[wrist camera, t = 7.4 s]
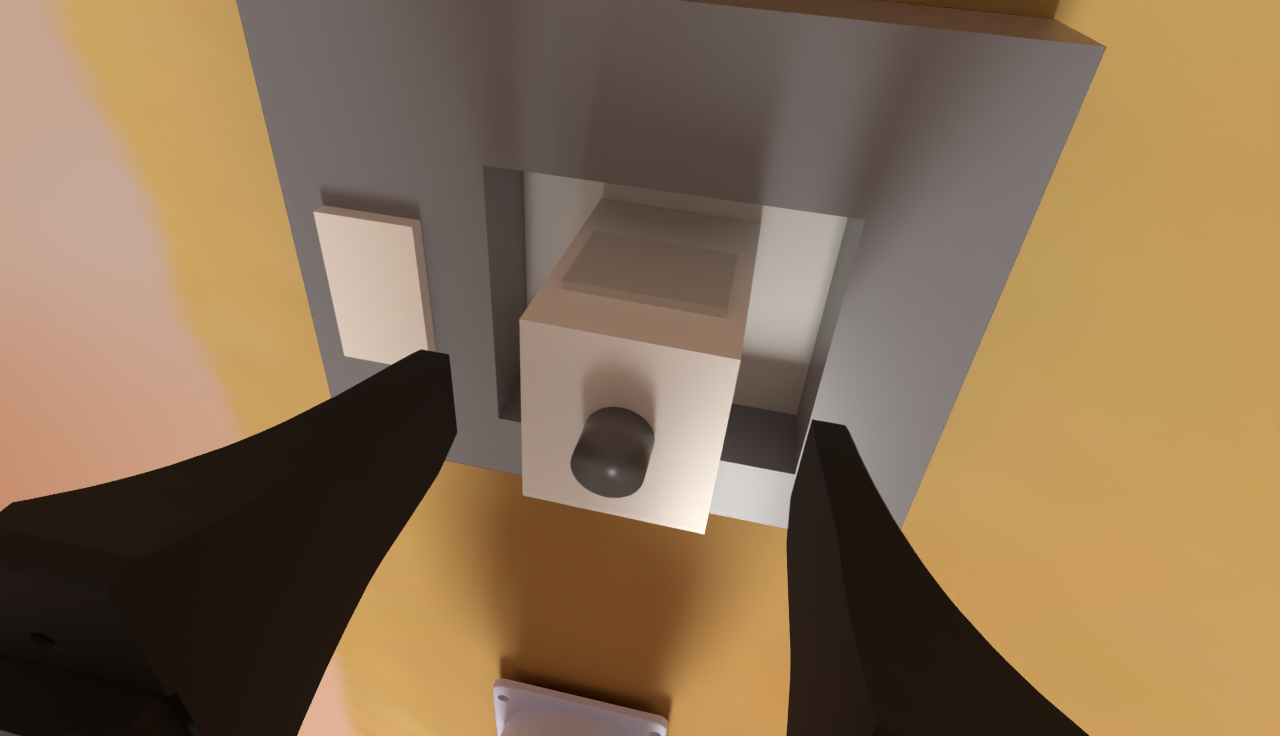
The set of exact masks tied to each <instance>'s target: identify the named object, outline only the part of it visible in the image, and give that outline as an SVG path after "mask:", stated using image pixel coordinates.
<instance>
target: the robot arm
mask: <svg viewBox="0 0 1280 736" xmlns="http://www.w3.org/2000/svg"><path fill="white" fill-rule="evenodd" d="M457 433H458V432H457V423H456V413H455V404H454V394H453V385H452V375H451V366H450V356H449V354H445V353H439V352H434V351H428V350H422V349H420V350H418V351H416V352H414V353H412V354H410V355H408V356H406V357H405V358H403V359H401V360H399V361H397V362H396V363H394V364H392V365H390V366H388V367H387V368H385V369H383V370H381V371H380V372H378V373H376V374H374V375H373V376H371V377H369V378H367V379H365V380H364V381H362V382H360V383H358V384H356V385H355V386H353V387H351V388H349V389H347V390H346V391H344V392H342V393H340V394H338V395H337V396H335V397H333V398H331V399H329V400H327V401H325V402H323V403H321V404H319V405H317V406H315V407H313V408H311V409H309V410H307V411H305V412H303V413H301V414H299V415H297V416H295V417H293V418H291V419H289V420H287V421H285V422H283V423H281V424H279V425H276V426H274V427H272V428H270V429H267V430H265V431H263V432H260V433H258V434H256V435H253V436H251V437H248V438H246V439H243V440H241V441H238V442H236V443H233V444H231V445H228V446H225V447H223V448H220V449H217V450H214V451H211V452H208V453H205V454H202V455H199V456H196V457H193V458H191V459H188V460H185V461H182V462H179V463H176V464H173V465H170V466H166V467H163V468H160V469H156V470H153V471H149V472H146V473H142V474H139V475H135V476H131V477H128V478H124V479H120V480H117V481H112V482H109V483H104V484H100V485H96V486H91V487H87V488H83V489H78V490H73V491H68V492H63V493H58V494H53V495H49V496H44V497H39V498H34V499H29V500H23V501H18V502H13V503H11V504H10V505H8V506H7V507H6V508H4V509H3V510H2V511H1V512H0V736H297V735H298V732H299V730H300V727H301V725H302V722H303V720H304V718H305V715H306V713H307V711H308V709H309V706H310V704H311V702H312V700H313V697H314V695H315V693H316V690H317V688H318V686H319V684H320V682H321V679H322V677H323V675H324V672H325V670H326V668H327V666H328V664H329V662H330V660H331V658H332V656H333V654H334V652H335V649H336V647H337V645H338V643H339V641H340V639H341V637H342V635H343V633H344V631H345V629H346V627H347V624H348V622H349V620H350V619H351V617H352V615H353V613H354V611H355V609H356V607H357V605H358V603H359V601H360V599H361V597H362V595H363V593H364V591H365V589H366V587H367V585H368V583H369V582H370V580H371V578H372V576H373V575H374V573H375V571H376V570H377V568H378V566H379V565H380V563H381V561H382V560H383V558H384V557H385V555H386V554H387V552H388V551H389V549H390V548H391V546H392V544H393V543H394V541H395V540H396V538H397V537H398V535H399V534H400V532H401V531H402V529H403V528H404V526H405V525H406V523H407V522H408V520H409V519H410V517H411V516H412V514H413V513H414V511H415V510H416V508H417V507H418V505H419V503H420V502H421V500H422V499H423V497H424V496H425V494H426V493H427V491H428V489H429V488H430V486H431V485H432V483H433V482H434V480H435V478H436V477H437V475H438V473H439V471H440V469H441V467H442V465H443V463H444V461H445V459H446V457H447V455H448V453H449V451H450V448H451V446H452V444H453V442H454V439H455V437H456V435H457ZM787 573H788V599H789V624H790V649H791V668H790V691H789V707H788V723H787V736H1089V735H1088V734H1087V733H1086V732H1084V731H1083V730H1082V729H1081V728H1080V727H1079V726H1077V725H1076V724H1075V723H1074V722H1073V721H1072V720H1070V719H1069V718H1068V717H1067V716H1066V715H1065V714H1063V713H1062V712H1061V711H1060V710H1059V709H1058V708H1056V707H1055V706H1054V705H1053V704H1052V703H1051V702H1049V701H1048V700H1047V699H1046V698H1045V697H1044V696H1043V695H1041V694H1040V693H1039V692H1038V691H1037V690H1036V689H1035V688H1034V687H1033V686H1032V685H1031V684H1030V683H1029V682H1028V681H1027V680H1026V679H1025V678H1024V677H1023V676H1021V675H1020V674H1019V673H1018V672H1017V671H1016V670H1015V669H1014V668H1013V667H1012V666H1011V665H1010V664H1009V663H1008V662H1007V661H1006V660H1005V659H1004V658H1003V657H1002V656H1001V655H1000V654H999V653H998V652H997V651H996V650H995V649H994V648H993V647H992V646H991V645H990V644H989V642H988V641H987V640H986V639H985V638H984V637H983V636H982V635H981V634H980V633H979V631H978V630H977V629H976V628H975V627H974V626H973V625H972V624H971V623H970V622H969V620H968V619H967V618H966V617H965V616H964V615H963V614H962V613H961V612H960V610H959V609H958V608H957V607H956V606H955V605H954V603H953V602H952V601H951V600H950V598H949V597H948V596H947V595H946V594H945V592H944V591H943V590H942V588H941V587H940V586H939V584H938V583H937V582H936V580H935V579H934V578H933V577H932V575H931V574H930V573H929V571H928V570H927V568H926V567H925V566H924V564H923V563H922V561H921V560H920V558H919V557H918V556H917V554H916V553H915V551H914V550H913V548H912V547H911V545H910V544H909V542H908V540H907V539H906V537H905V536H904V534H903V533H902V531H901V530H900V528H899V526H898V525H897V523H896V521H895V520H894V518H893V516H892V515H891V513H890V511H889V509H888V508H887V506H886V504H885V502H884V501H883V499H882V497H881V495H880V493H879V492H878V490H877V488H876V486H875V484H874V482H873V480H872V478H871V477H870V474H869V472H868V470H867V468H866V466H865V464H864V462H863V460H862V458H861V456H860V454H859V452H858V450H857V447H856V445H855V443H854V441H853V438H852V436H851V434H850V431H849V430H848V428H847V427H846V426H845V425H842V424H836V423H830V422H825V421H819V420H814V419H812V421H811V425H810V429H809V432H808V436H807V439H806V443H805V447H804V450H803V454H802V457H801V461H800V465H799V468H798V472H797V475H796V479H795V483H794V486H793V490H792V493H791V497H790V509H789V520H788V532H787ZM493 697H494V707H495V717H496V728H497V736H666V735H667V729H668V721H667V720H666V719H665V718H664V717H662V716H660V715H656V714H652V713H648V712H644V711H639V710H635V709H631V708H627V707H623V706H618V705H614V704H610V703H606V702H601V701H597V700H593V699H589V698H585V697H580V696H576V695H572V694H568V693H564V692H559V691H555V690H551V689H547V688H542V687H538V686H534V685H530V684H526V683H521V682H517V681H513V680H509V679H504V678H501V679H497V680H496V681H495V684H494V686H493Z"/></svg>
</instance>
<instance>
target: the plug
mask: <svg viewBox="0 0 1280 736" xmlns="http://www.w3.org/2000/svg"><path fill="white" fill-rule="evenodd" d="M760 227H761V224H755V223H749V222H743V221H737V220H730V219H724V218H718V217H712V216H706V215H699V214H693V213H687V212H681V211H675V210H669V209H662V208H656V207H650V206H644V205H638V204H632V203H625V202H619V201H613V200H607V199H600V201H599V202H598V204H597V205H596V207H595V208H594V210H593V211H592V213H591V214H590V216H589V217H588V219H587V220H586V222H585V223H584V224H583V226H582V227H581V229H580V230H579V232H578V233H577V235H576V236H575V238H574V239H573V241H572V242H571V244H570V245H569V247H568V248H567V250H566V251H565V253H564V254H563V256H562V257H561V258H560V260H559V261H558V263H557V264H556V266H555V267H554V269H553V270H552V272H551V273H550V275H549V276H548V278H547V279H546V281H545V282H544V284H543V285H542V287H541V288H540V290H539V291H538V293H537V294H536V295H535V297H534V298H533V300H532V301H531V303H530V304H529V306H528V307H527V309H526V310H525V312H524V313H523V315H522V316H521V318H520V319H519V324H520V379H521V434H522V490H523V496H528V497H532V498H537V499H541V500H546V501H551V502H555V503H560V504H565V505H569V506H574V507H579V508H583V509H588V510H593V511H597V512H602V513H607V514H611V515H616V516H621V517H625V518H630V519H635V520H639V521H644V522H649V523H653V524H658V525H663V526H667V527H672V528H677V529H681V530H686V531H691V532H695V533H700V534H705V529H706V524H707V520H708V515H709V510H710V505H711V501H712V496H713V491H714V486H715V481H716V477H717V472H718V467H719V462H720V457H721V453H722V448H723V443H724V438H725V434H726V429H727V424H728V419H729V414H730V410H731V405H732V400H733V395H734V391H735V386H736V381H737V376H738V371H739V367H740V362H741V356H742V349H743V342H744V335H745V329H746V322H747V315H748V308H749V302H750V295H751V288H752V281H753V275H754V268H755V261H756V254H757V248H758V241H759V234H760Z"/></svg>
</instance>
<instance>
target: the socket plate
mask: <svg viewBox="0 0 1280 736" xmlns="http://www.w3.org/2000/svg"><path fill="white" fill-rule="evenodd" d="M236 1H237V5H238V9H239V14H240V18H241V22H242V26H243V30H244V35H245V39H246V43H247V47H248V51H249V55H250V60H251V64H252V68H253V72H254V76H255V81H256V85H257V89H258V93H259V97H260V101H261V106H262V110H263V114H264V118H265V122H266V127H267V131H268V135H269V139H270V143H271V147H272V152H273V156H274V160H275V164H276V168H277V173H278V177H279V181H280V185H281V189H282V193H283V198H284V202H285V206H286V210H287V214H288V219H289V223H290V227H291V231H292V235H293V240H294V244H295V248H296V252H297V256H298V260H299V265H300V269H301V273H302V277H303V281H304V286H305V290H306V294H307V298H308V302H309V306H310V311H311V315H312V319H313V323H314V327H315V332H316V336H317V340H318V344H319V348H320V352H321V357H322V361H323V365H324V369H325V373H326V378H327V382H328V386H329V390H330V394H331V398H333V397H335V396H337V395H338V394H340V393H342V392H344V391H346V390H347V389H349V388H351V387H353V386H355V385H356V384H358V383H360V382H362V381H364V380H365V379H367V378H369V377H371V376H373V375H374V374H376V373H378V372H380V371H381V370H383V369H385V368H387V367H388V366H390V365H392V364H394V363H396V362H397V361H399V360H401V359H403V358H405V357H406V356H408V355H410V354H412V353H414V352H416V351H418V350H420V349H422V350H428V351H434V352H439V353H445V354H449V356H450V366H451V375H452V385H453V394H454V404H455V413H456V423H457V432H458V433H457V435H456V437H455V439H454V442H453V444H452V446H451V448H450V451H449V453H448V455H447V457H446V459H445V461H450V462H455V463H460V464H465V465H470V466H475V467H480V468H485V469H490V470H495V471H500V472H505V473H510V474H515V475H520V476H522V434H521V379H520V324H519V319H520V318H521V316H522V315H523V313H524V312H525V310H526V309H527V307H528V306H529V304H530V303H531V301H532V300H533V298H534V297H535V295H536V294H537V293H538V291H539V290H540V288H541V287H542V285H543V284H544V282H545V281H546V279H547V278H548V276H549V275H550V273H551V272H552V270H553V269H554V267H555V266H556V264H557V263H558V261H559V260H560V258H561V257H562V256H563V254H564V253H565V251H566V250H567V248H568V247H569V245H570V244H571V242H572V241H573V239H574V238H575V236H576V235H577V233H578V232H579V230H580V229H581V227H582V226H583V224H584V223H585V222H586V220H587V219H588V217H589V216H590V214H591V213H592V211H593V210H594V208H595V207H596V205H597V204H598V202H599V201H600V199H607V200H613V201H619V202H625V203H632V204H638V205H644V206H650V207H656V208H662V209H669V210H675V211H681V212H687V213H693V214H699V215H706V216H712V217H718V218H724V219H730V220H737V221H743V222H749V223H755V224H761V227H760V234H759V241H758V248H757V254H756V261H755V268H754V275H753V281H752V288H751V295H750V302H749V308H748V315H747V322H746V329H745V335H744V342H743V349H742V356H741V362H740V367H739V371H738V376H737V381H736V386H735V391H734V395H733V400H732V405H731V410H730V414H729V419H728V424H727V429H726V434H725V438H724V443H723V448H722V453H721V457H720V462H719V467H718V472H717V477H716V481H715V486H714V491H713V496H712V501H711V505H710V510H709V513H711V514H716V515H721V516H726V517H731V518H736V519H741V520H746V521H751V522H756V523H761V524H766V525H771V526H776V527H781V528H786V529H788V520H789V509H790V497H791V493H792V490H793V486H794V483H795V479H796V475H797V472H798V468H799V465H800V461H801V457H802V454H803V450H804V447H805V443H806V439H807V436H808V432H809V429H810V425H811V421H812V419H814V420H819V421H825V422H830V423H836V424H842V425H845V426H846V427H847V428H848V430H849V431H850V434H851V436H852V438H853V441H854V443H855V445H856V447H857V450H858V452H859V454H860V456H861V458H862V460H863V462H864V464H865V466H866V468H867V470H868V472H869V474H870V477H871V478H872V480H873V482H874V484H875V486H876V488H877V490H878V492H879V493H880V495H881V497H882V499H883V501H884V502H885V504H886V506H887V508H888V509H889V511H890V513H891V515H892V516H893V518H894V520H895V521H896V523H897V525H898V526H899V528H900V530H901V528H902V525H903V523H904V521H905V518H906V516H907V514H908V511H909V509H910V507H911V504H912V502H913V500H914V497H915V495H916V493H917V490H918V488H919V486H920V483H921V481H922V479H923V476H924V474H925V472H926V469H927V467H928V464H929V462H930V460H931V457H932V455H933V453H934V450H935V448H936V446H937V443H938V441H939V439H940V436H941V434H942V432H943V429H944V427H945V425H946V422H947V420H948V418H949V415H950V413H951V411H952V408H953V406H954V403H955V401H956V399H957V396H958V394H959V392H960V389H961V387H962V385H963V382H964V380H965V378H966V375H967V373H968V371H969V368H970V366H971V364H972V361H973V359H974V357H975V354H976V352H977V350H978V347H979V345H980V342H981V340H982V338H983V335H984V333H985V331H986V328H987V326H988V324H989V321H990V319H991V317H992V314H993V312H994V310H995V307H996V305H997V303H998V300H999V298H1000V296H1001V293H1002V291H1003V288H1004V286H1005V284H1006V281H1007V279H1008V277H1009V274H1010V272H1011V270H1012V267H1013V265H1014V263H1015V260H1016V258H1017V256H1018V253H1019V251H1020V249H1021V246H1022V244H1023V242H1024V239H1025V237H1026V235H1027V232H1028V230H1029V227H1030V225H1031V223H1032V220H1033V218H1034V216H1035V213H1036V211H1037V209H1038V206H1039V204H1040V202H1041V199H1042V197H1043V195H1044V192H1045V190H1046V188H1047V185H1048V183H1049V181H1050V178H1051V176H1052V174H1053V171H1054V169H1055V166H1056V164H1057V162H1058V159H1059V157H1060V155H1061V152H1062V150H1063V148H1064V145H1065V143H1066V141H1067V138H1068V136H1069V134H1070V131H1071V129H1072V127H1073V124H1074V122H1075V120H1076V117H1077V115H1078V113H1079V110H1080V108H1081V105H1082V103H1083V101H1084V98H1085V96H1086V94H1087V91H1088V89H1089V87H1090V84H1091V82H1092V80H1093V77H1094V75H1095V73H1096V70H1097V68H1098V66H1099V63H1100V61H1101V59H1102V56H1103V54H1104V52H1105V49H1106V46H1104V45H1102V44H1100V43H1098V42H1096V41H1094V40H1093V39H1091V38H1089V37H1087V36H1085V35H1083V34H1081V33H1080V32H1078V31H1076V30H1074V29H1072V28H1070V27H1068V26H1066V25H1065V24H1063V23H1061V22H1059V21H1057V20H1055V19H1049V18H1039V17H1030V16H1020V15H1010V14H1001V13H991V12H982V11H972V10H963V9H953V8H944V7H934V6H925V5H915V4H905V3H896V2H886V1H877V0H236Z"/></svg>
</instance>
